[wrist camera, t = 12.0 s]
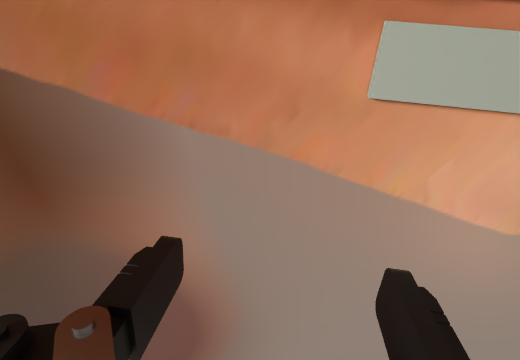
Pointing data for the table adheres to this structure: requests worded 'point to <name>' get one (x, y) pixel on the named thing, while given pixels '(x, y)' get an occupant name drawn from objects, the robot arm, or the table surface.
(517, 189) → the table surface
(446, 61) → the sage strip
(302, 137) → the table surface
